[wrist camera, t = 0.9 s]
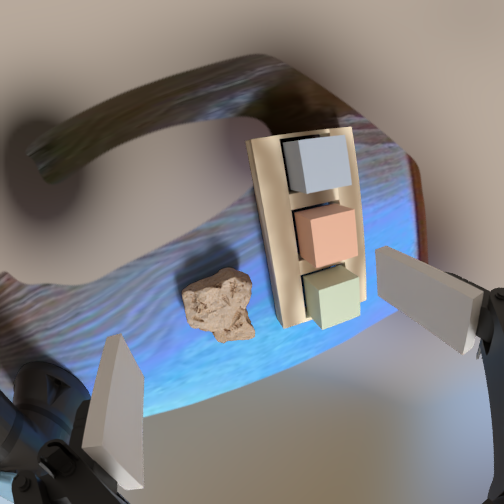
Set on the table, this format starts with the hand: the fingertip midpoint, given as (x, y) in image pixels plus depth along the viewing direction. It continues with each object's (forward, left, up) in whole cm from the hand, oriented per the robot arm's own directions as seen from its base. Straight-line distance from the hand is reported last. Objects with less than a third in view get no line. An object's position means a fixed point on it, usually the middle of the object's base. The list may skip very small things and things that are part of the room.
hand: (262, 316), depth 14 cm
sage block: (+14, -13, -24) cm, 31 cm away
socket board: (+14, -4, -26) cm, 30 cm away
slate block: (+14, +5, -24) cm, 28 cm away
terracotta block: (+14, -4, -24) cm, 28 cm away
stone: (0, -12, -27) cm, 29 cm away
